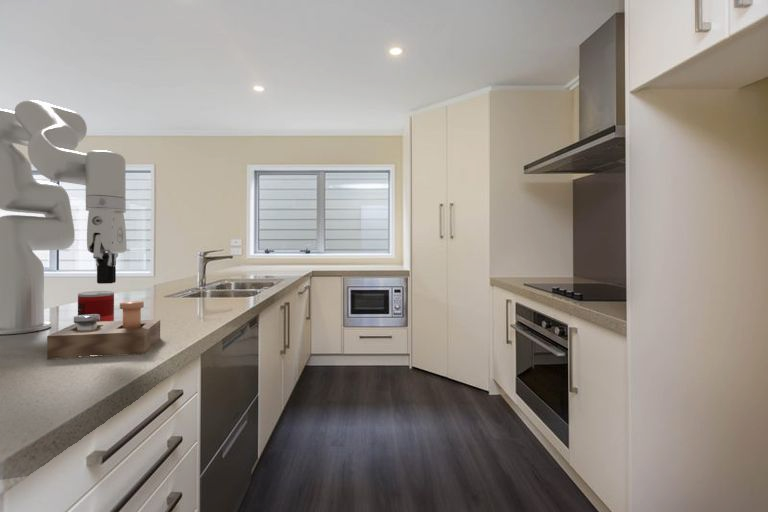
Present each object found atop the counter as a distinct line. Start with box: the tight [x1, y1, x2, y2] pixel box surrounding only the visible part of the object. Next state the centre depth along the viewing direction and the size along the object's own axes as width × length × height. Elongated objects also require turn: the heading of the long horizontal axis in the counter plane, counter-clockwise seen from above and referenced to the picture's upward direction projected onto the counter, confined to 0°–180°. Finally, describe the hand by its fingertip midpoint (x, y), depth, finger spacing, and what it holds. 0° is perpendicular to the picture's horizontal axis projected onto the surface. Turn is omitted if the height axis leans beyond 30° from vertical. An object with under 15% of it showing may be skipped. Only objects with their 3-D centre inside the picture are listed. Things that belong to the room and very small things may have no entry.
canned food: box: [77, 290, 115, 322], centre depth 103 cm, size 8×8×11 cm
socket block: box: [46, 319, 161, 360], centre depth 88 cm, size 18×14×5 cm
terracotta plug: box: [119, 300, 145, 329], centre depth 90 cm, size 5×5×7 cm
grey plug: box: [73, 314, 100, 330], centre depth 87 cm, size 5×5×7 cm
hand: (106, 282), depth 88 cm, fingers closed
